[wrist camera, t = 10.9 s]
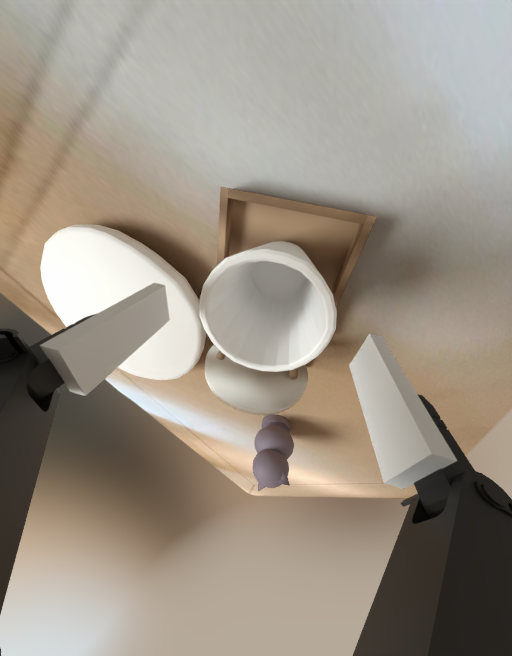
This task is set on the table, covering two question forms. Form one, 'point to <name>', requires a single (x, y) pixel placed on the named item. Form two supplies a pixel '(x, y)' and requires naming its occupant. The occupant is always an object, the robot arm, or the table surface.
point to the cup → (268, 308)
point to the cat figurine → (273, 452)
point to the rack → (324, 252)
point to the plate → (123, 293)
